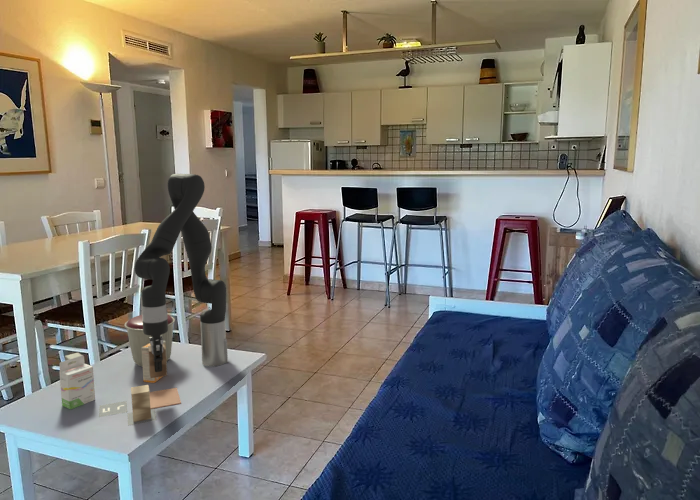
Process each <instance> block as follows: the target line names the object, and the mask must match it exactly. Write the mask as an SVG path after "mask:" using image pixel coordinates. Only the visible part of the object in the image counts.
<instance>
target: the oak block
mask: <svg viewBox="0 0 700 500" xmlns="http://www.w3.org/2000/svg"><path fill="white" fill-rule="evenodd" d="M149 392H150V386H149V384H144V385H139V386H132V387H130V395H131V407H132V409H131V410H132V412H133V422H137V421H142V420H148V419H151V409H150V393H149Z"/></svg>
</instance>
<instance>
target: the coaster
mask: <svg viewBox="0 0 700 500" xmlns="http://www.w3.org/2000/svg"><path fill="white" fill-rule="evenodd" d="M149 393H150V409H154V408H155V409H158V408H160V409H161V408H165V407H169V406H176V405H180V404H182V401H181V398H180V397H181V396H180V395H179V391H178V388H177V387H172V388H166V389H160V390H155V391H149Z"/></svg>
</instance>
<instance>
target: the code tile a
mask: <svg viewBox="0 0 700 500" xmlns="http://www.w3.org/2000/svg"><path fill="white" fill-rule="evenodd" d="M127 401H128V400H124V401H119V402H118V401H117V402H113V403H107V404H101V405H99V407H98V408H99V409H98V410H99V411H98V418H102V417H107V416H113V415H118V414H125V413H128V402H127Z"/></svg>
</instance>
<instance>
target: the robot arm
mask: <svg viewBox="0 0 700 500" xmlns="http://www.w3.org/2000/svg"><path fill="white" fill-rule="evenodd" d="M205 187H206V186H205V181H204V179H203V177H202V176H201V175H199V174H193V173H172V174H171V175H170V176H169V178H168V180H167V191H168V195H169V197H170V200H171V203H172V207H173V211H171V212H170V214H169V215H167V216H165V218H164V219H163V220H162V221H161V222H160V223H159V225H158V227H157V228H156V230H155V233H154V235H153V237H152V239H151V242H150V243H149V244H148V245H147V246H146V247H145V248H144V250H143V251H142V252H141V253H140V254H139V256H138V258H137V259H136V261H135V263H134V273H135V275H136V277H138V278H140V279H146V280H152V282H151V285H147V286H144V287H143V288H142V291H141V301H142V302H141V303H142V308H141V309H142V310H141V315H142V320H143V333H144V334H145V335H149V336H150V335H151V337H149V340H150V345H151V350H152V354H153V355H154V359H153V360H154V365H155V372H161V371H162V360H163V358H162V353H163V338H162V336H160V335H161V334H164V333H166V332H167V331H168V318H167V315H168V309H167V301H166V300H167V298H166V297H167V296H166V295H167V294H166V290H167V286H168V282H169V276H170V272H171V269H170V264H169V262H168V261H167V260H166V259H165V258H164V257H163V256H168V255H170V254H171V253H172V252H173V249H175V248H174V247H175V245H176V243H177V240H178V238H179V235H180V234H181V235H182V241H183V244H184V249H185V253H186V256H187V259H188V264H189V269H190V273H191V281H192V287H193V294H194V298H195V299H196V301H197V302H199V303H202V304H211V308H210V309H207V310H204V311H202V312H201V313H200V317H199V318H200V321H199V322H200V343H201V361H202V362H201V363H202V365H203V366H205V367H211V368H212V367H213V368H214V367H218V366H219V367H220V366H222V365H225V364H228V362H229V359H228V358H229V357H228V339H227V335H226V334H227V333H226V312H227V286H226V283H225V282H224V280H221V279H213V278H212V279H211V278H208V277H207V273H206V264H207V262H208V259H209V258H210V255H211V252H212V248H213V247H212V241H211V238H210V237H211V236H210V234H209V230H208V229H207V227H206V226H205V224H204V223H203V221H201V220H200V218H199V217H198V216H197V215H196V213H195V212H194V210H195V209H196V207H197V206H198V204H199V203H200V201H201V199H202V197H203V195H204V193H205V189H206V188H205ZM153 349H154V351H153ZM156 355H160V357H156Z"/></svg>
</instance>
